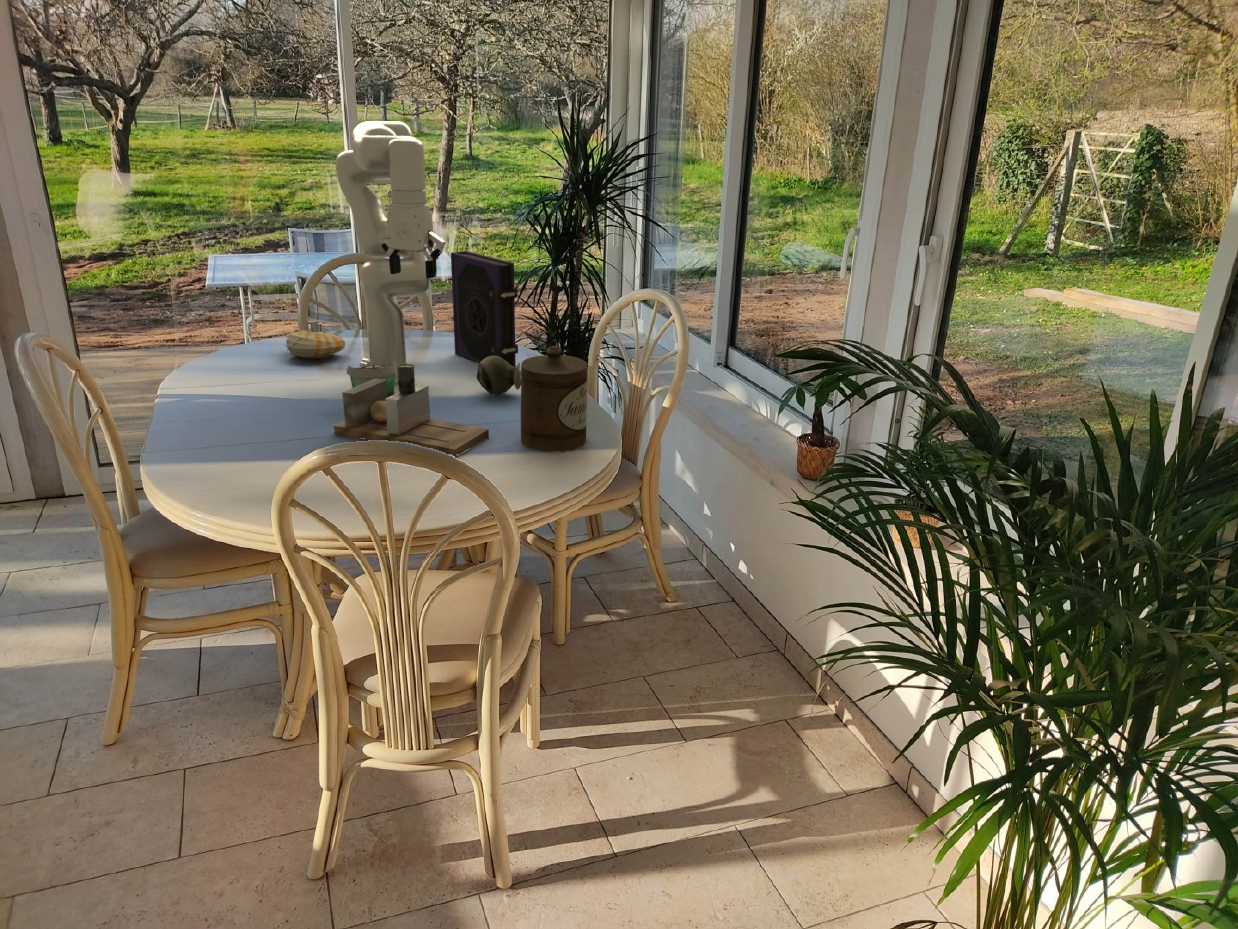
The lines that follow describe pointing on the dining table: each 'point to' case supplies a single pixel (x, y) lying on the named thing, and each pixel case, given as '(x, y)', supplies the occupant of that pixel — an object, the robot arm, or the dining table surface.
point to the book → (483, 307)
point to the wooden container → (553, 402)
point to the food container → (373, 375)
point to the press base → (426, 434)
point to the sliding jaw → (407, 403)
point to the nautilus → (313, 344)
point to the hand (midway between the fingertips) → (413, 275)
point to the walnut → (378, 411)
